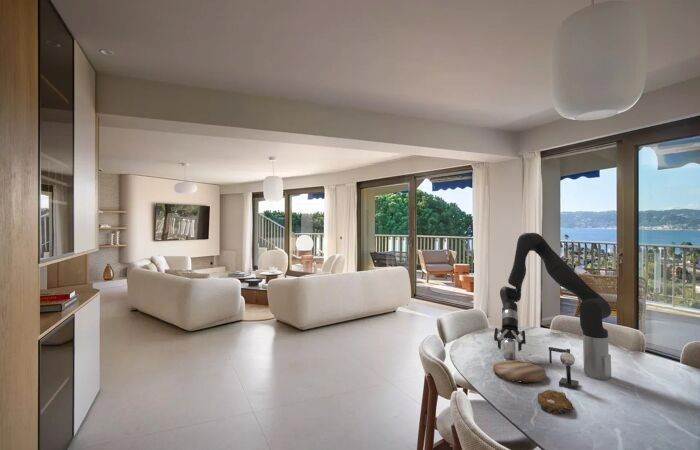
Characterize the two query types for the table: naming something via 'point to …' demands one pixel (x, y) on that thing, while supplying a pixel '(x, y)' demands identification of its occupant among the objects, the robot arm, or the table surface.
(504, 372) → the disc
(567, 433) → the table surface
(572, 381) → the stand
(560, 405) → the decorative rock
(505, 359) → the cover
